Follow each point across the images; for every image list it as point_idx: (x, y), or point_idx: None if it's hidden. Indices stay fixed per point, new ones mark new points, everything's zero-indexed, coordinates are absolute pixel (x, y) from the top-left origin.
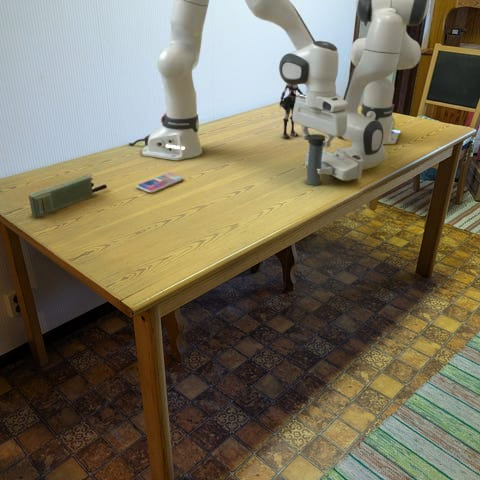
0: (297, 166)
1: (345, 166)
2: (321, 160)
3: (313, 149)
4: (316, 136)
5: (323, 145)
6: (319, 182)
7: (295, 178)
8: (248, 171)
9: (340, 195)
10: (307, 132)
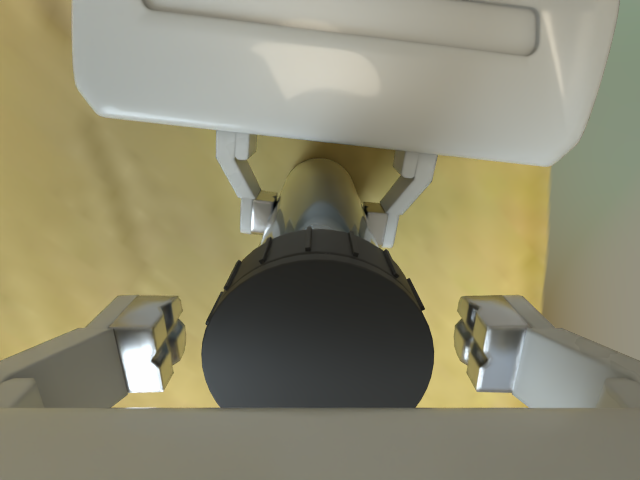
0: (65, 81)
1: (530, 89)
2: (366, 216)
3: None
4: (306, 365)
5: (465, 355)
6: (346, 171)
7: (219, 224)
8: (29, 342)
9: (521, 195)
10: (98, 357)
